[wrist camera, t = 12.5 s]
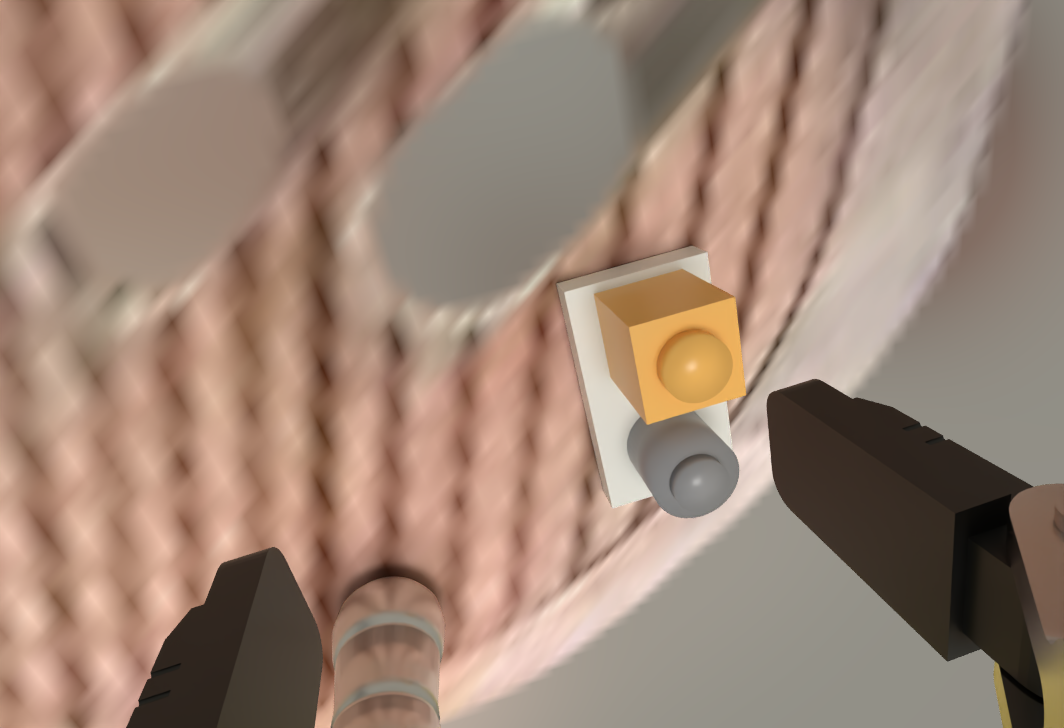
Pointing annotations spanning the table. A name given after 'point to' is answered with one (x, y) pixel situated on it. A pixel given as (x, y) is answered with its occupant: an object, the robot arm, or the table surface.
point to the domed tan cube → (671, 344)
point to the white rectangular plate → (599, 392)
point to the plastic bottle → (388, 656)
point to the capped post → (683, 464)
